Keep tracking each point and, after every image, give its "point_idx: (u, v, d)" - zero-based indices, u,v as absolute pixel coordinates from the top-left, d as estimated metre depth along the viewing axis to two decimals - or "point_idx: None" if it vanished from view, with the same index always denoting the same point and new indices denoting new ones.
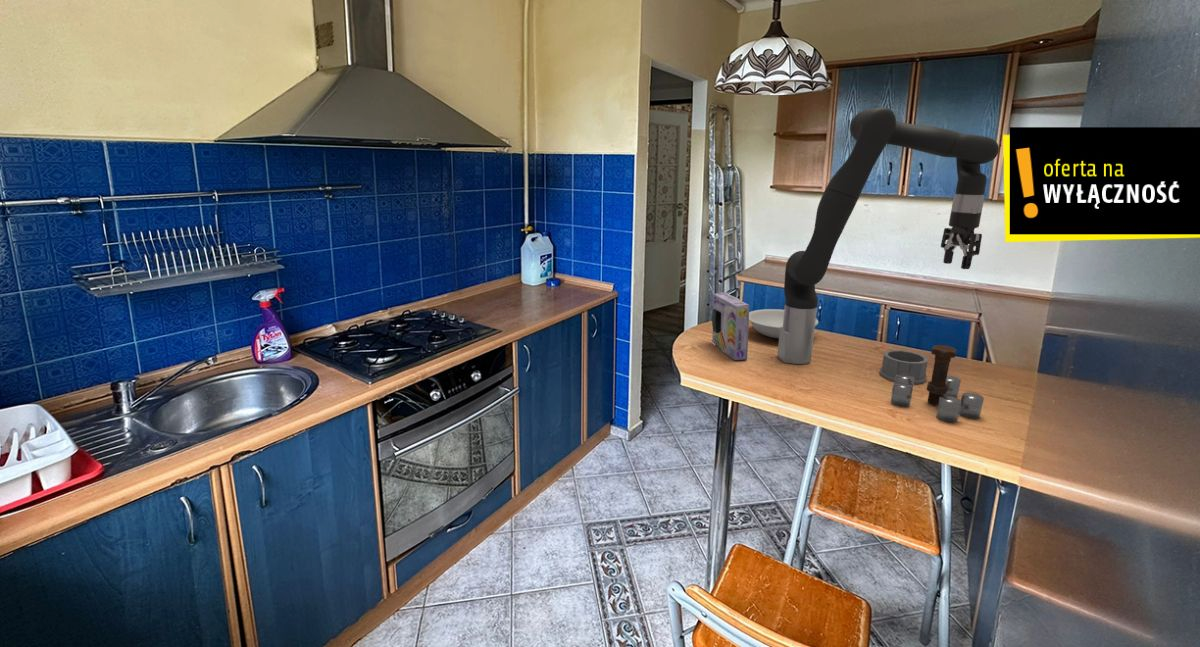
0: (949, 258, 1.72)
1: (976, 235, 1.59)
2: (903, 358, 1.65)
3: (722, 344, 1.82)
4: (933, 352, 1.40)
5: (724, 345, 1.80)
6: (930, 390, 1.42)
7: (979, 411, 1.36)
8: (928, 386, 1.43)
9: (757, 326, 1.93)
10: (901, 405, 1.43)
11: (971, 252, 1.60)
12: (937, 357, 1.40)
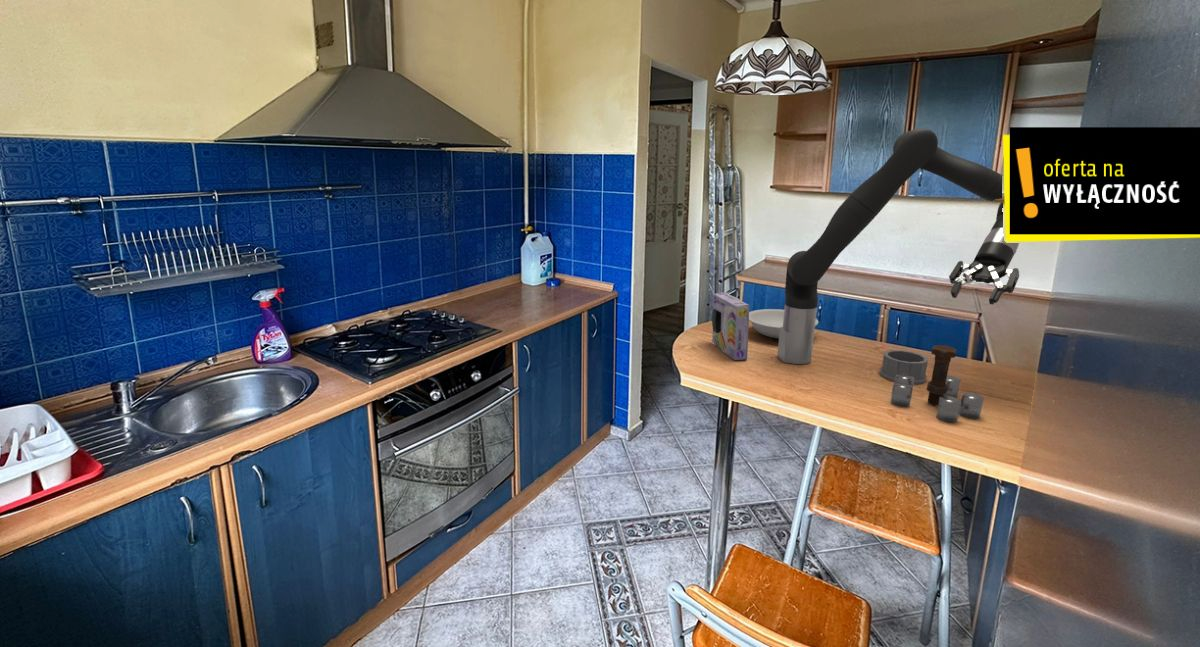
0: (957, 291, 1.47)
1: (1018, 271, 1.41)
2: (903, 358, 1.65)
3: (722, 344, 1.82)
4: (933, 352, 1.40)
5: (724, 345, 1.80)
6: (930, 390, 1.42)
7: (979, 411, 1.36)
8: (928, 386, 1.43)
9: (757, 326, 1.93)
10: (901, 405, 1.43)
11: (1012, 285, 1.39)
12: (937, 357, 1.40)
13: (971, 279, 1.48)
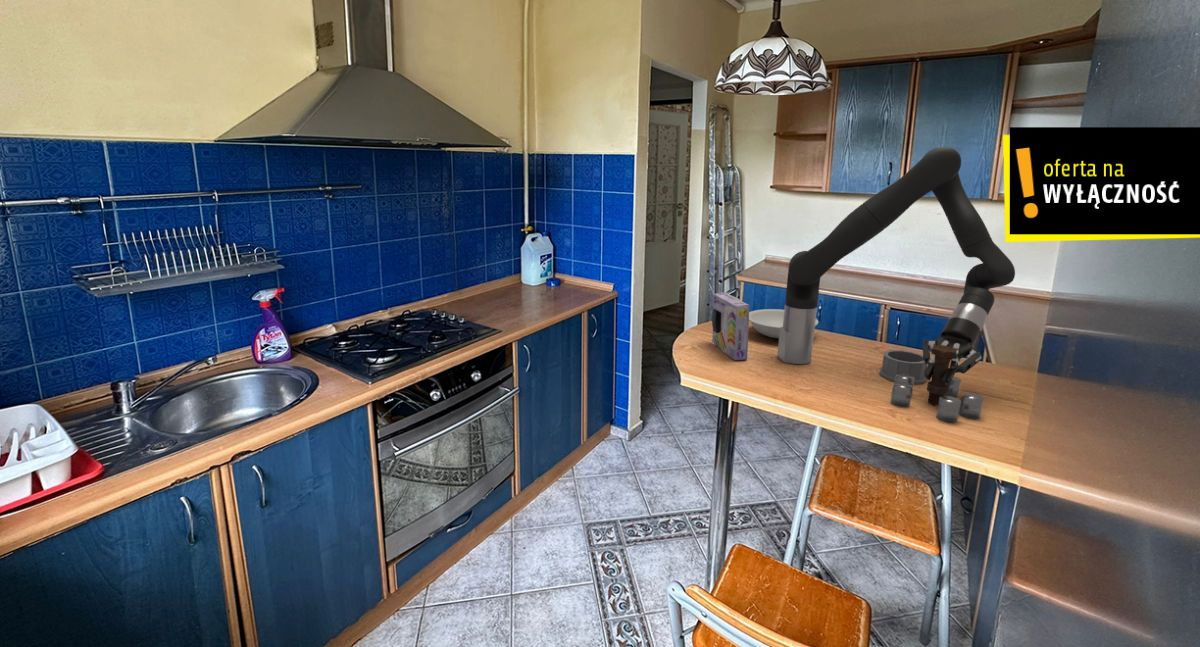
0: (931, 373, 1.43)
1: (980, 356, 1.38)
2: (903, 358, 1.65)
3: (722, 344, 1.82)
4: (933, 352, 1.40)
5: (724, 345, 1.80)
6: (930, 390, 1.42)
7: (979, 411, 1.36)
8: (928, 386, 1.43)
9: (757, 326, 1.93)
10: (901, 405, 1.43)
11: (964, 366, 1.38)
12: (937, 357, 1.40)
13: None
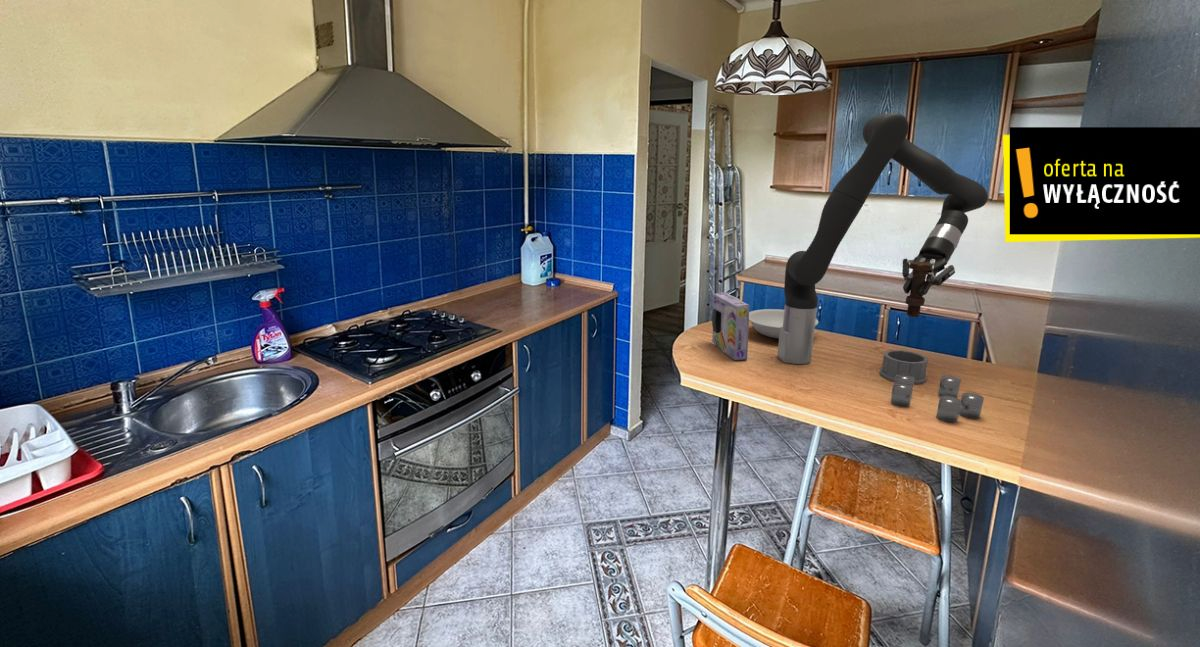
0: (909, 287, 1.56)
1: (953, 269, 1.51)
2: (903, 358, 1.65)
3: (722, 344, 1.82)
4: (911, 266, 1.53)
5: (724, 345, 1.80)
6: (908, 302, 1.56)
7: (979, 411, 1.36)
8: (907, 299, 1.56)
9: (757, 326, 1.93)
10: (901, 405, 1.43)
11: (939, 278, 1.51)
12: (914, 271, 1.53)
13: None
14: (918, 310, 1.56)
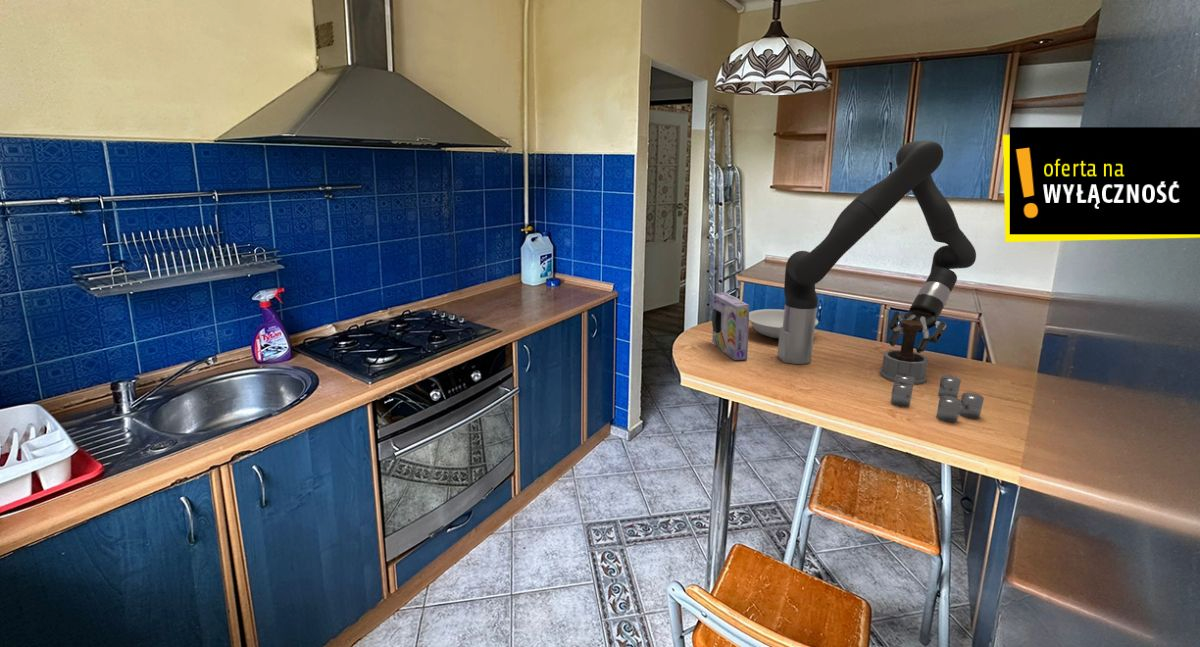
0: (895, 340, 1.62)
1: (945, 324, 1.56)
2: None
3: (722, 344, 1.82)
4: (901, 326, 1.58)
5: (724, 345, 1.80)
6: None
7: (979, 411, 1.36)
8: (897, 356, 1.61)
9: (757, 326, 1.93)
10: (901, 405, 1.43)
11: (936, 336, 1.55)
12: (905, 330, 1.59)
13: None
14: None
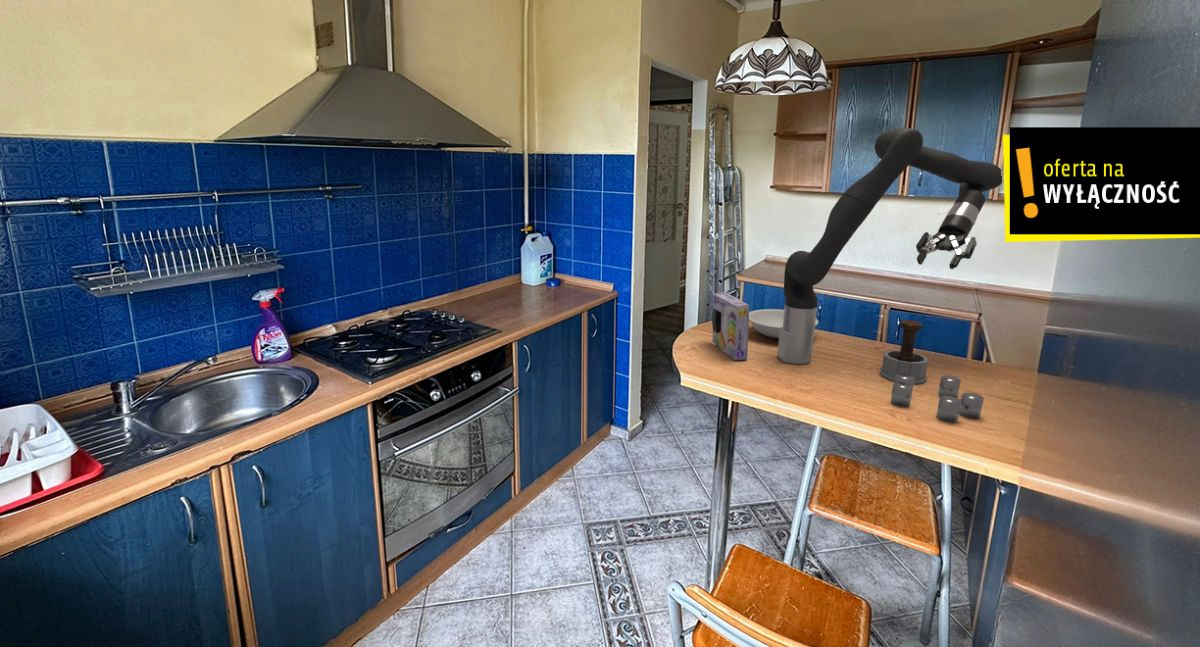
0: (922, 259, 1.65)
1: (975, 240, 1.59)
2: None
3: (722, 344, 1.82)
4: (901, 326, 1.58)
5: (724, 345, 1.80)
6: None
7: (979, 411, 1.36)
8: (897, 356, 1.61)
9: (757, 326, 1.93)
10: (901, 405, 1.43)
11: (969, 252, 1.57)
12: (905, 330, 1.58)
13: (935, 248, 1.66)
14: None
